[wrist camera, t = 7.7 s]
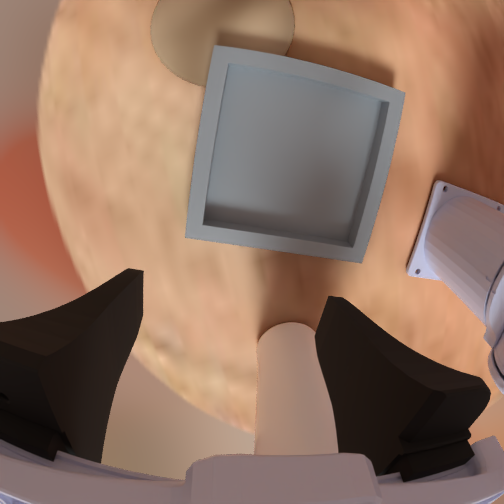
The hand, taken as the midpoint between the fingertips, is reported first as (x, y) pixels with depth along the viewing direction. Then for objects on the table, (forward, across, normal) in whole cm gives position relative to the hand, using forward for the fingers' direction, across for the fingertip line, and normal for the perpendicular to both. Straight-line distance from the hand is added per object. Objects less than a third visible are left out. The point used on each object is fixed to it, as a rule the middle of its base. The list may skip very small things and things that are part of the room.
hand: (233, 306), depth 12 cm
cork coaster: (+10, +3, -13) cm, 17 cm away
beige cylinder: (+11, -6, +10) cm, 16 cm away
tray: (+10, -3, -5) cm, 12 cm away
